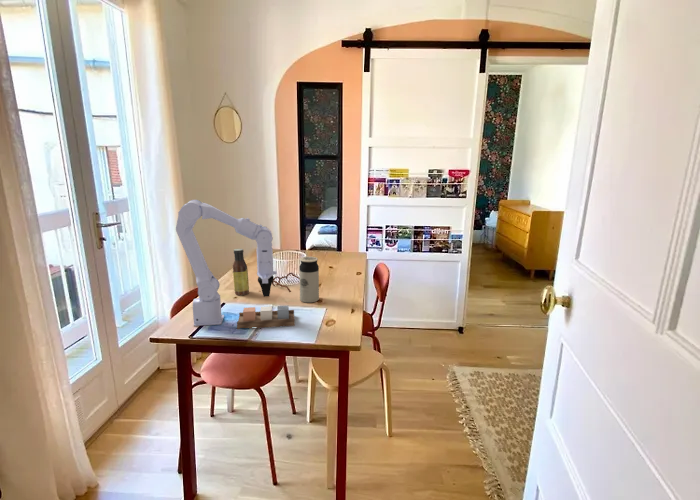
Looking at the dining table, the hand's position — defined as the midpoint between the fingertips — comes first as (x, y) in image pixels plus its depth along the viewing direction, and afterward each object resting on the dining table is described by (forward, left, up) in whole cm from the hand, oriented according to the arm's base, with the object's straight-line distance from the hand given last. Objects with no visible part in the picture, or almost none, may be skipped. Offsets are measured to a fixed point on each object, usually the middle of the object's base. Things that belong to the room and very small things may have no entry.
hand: (266, 296), depth 146 cm
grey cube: (+6, -5, -7) cm, 10 cm away
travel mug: (+17, +16, -9) cm, 25 cm away
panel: (0, -5, -8) cm, 10 cm away
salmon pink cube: (-6, -5, -7) cm, 10 cm away
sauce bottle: (-12, +28, -9) cm, 32 cm away
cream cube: (0, -5, -7) cm, 8 cm away
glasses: (+10, +35, -9) cm, 38 cm away
